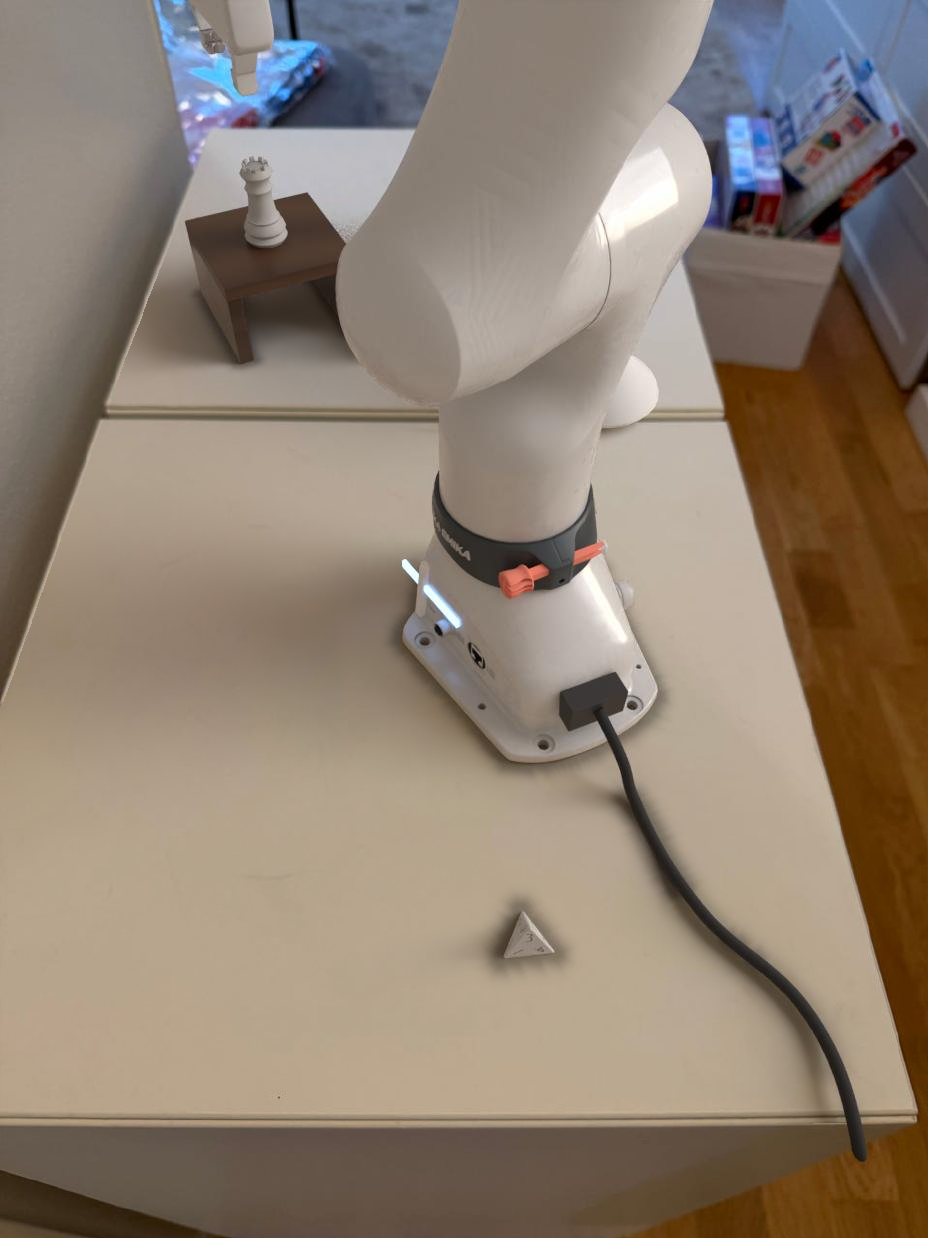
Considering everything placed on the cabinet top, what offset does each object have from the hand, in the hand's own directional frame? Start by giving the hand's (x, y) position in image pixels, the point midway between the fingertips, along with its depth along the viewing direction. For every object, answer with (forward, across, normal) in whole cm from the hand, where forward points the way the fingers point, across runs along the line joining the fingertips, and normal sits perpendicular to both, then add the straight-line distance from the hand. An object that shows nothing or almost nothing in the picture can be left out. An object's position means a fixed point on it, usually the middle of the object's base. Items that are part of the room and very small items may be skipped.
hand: (230, 70), depth 82 cm
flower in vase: (+26, -26, -26) cm, 46 cm away
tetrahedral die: (+27, -73, +7) cm, 78 cm away
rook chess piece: (+17, +1, -1) cm, 17 cm away
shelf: (+26, +1, -1) cm, 26 cm away
